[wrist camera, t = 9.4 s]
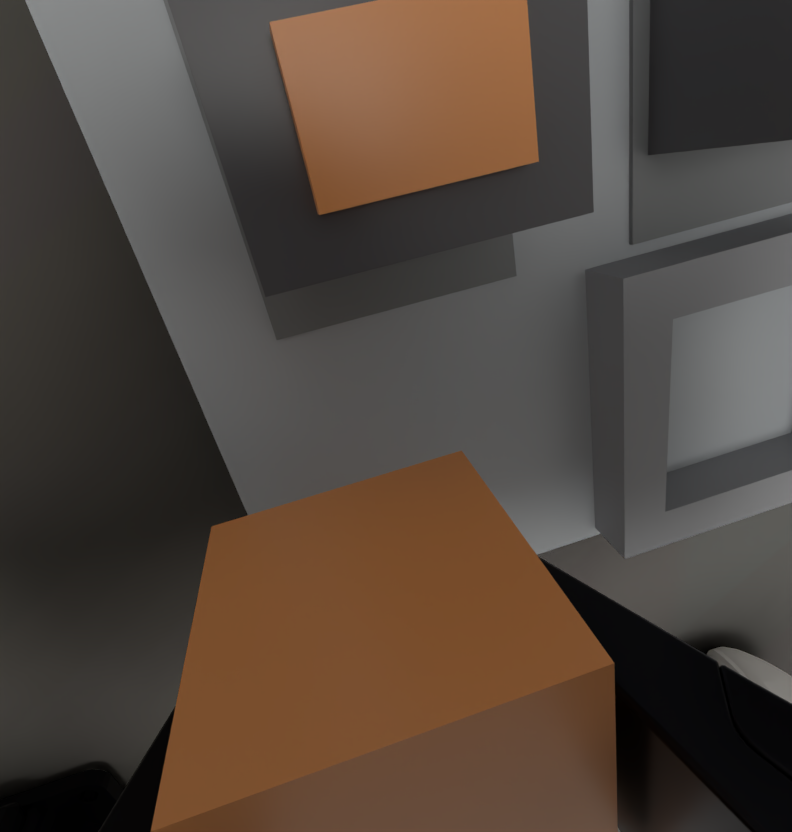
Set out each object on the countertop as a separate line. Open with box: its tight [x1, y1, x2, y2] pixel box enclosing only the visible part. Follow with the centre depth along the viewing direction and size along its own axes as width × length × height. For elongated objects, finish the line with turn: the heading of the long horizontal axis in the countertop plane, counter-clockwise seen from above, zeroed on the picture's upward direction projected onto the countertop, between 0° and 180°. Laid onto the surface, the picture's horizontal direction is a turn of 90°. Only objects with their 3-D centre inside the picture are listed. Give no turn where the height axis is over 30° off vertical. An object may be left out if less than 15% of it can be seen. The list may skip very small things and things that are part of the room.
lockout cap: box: [151, 450, 618, 832], centre depth 7 cm, size 4×4×4 cm
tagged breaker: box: [167, 0, 594, 297], centre depth 6 cm, size 3×4×3 cm
